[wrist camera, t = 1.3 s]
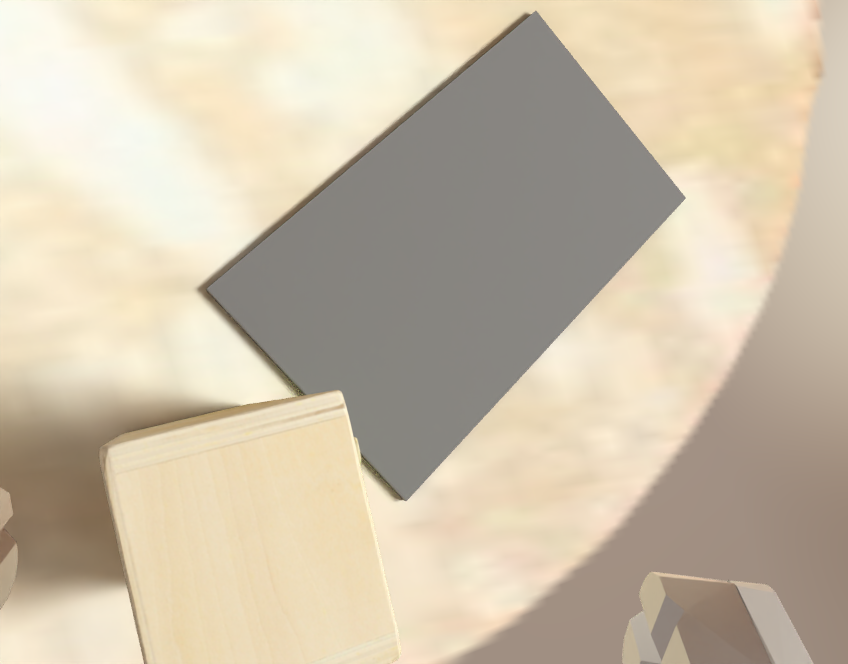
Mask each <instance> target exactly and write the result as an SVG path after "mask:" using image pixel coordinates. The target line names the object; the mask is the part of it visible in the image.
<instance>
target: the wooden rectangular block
mask: <svg viewBox="0 0 848 664" xmlns="http://www.w3.org/2000/svg"><path fill="white" fill-rule="evenodd" d="M99 461H100V466H101V471H102V476H103V481H104V486H105V490H106V495H107V499H108V504H109V508H110V513H111V517H112V522H113V526H114V531H115V535H116V540H117V544H118V549H119V553H120V557H121V562H122V566H123V571H124V575H125V580H126V584H127V589H128V593H129V598H130V602H131V607H132V611H133V616H134V620H135V625H136V629H137V634H138V638H139V642H140V647H141V651H142V656H143V660H144V664H391V663H393V662H395V661H396V660H398V659H399V658H400V656H401V646H400V640H399V634H398V629H397V625H396V621H395V616H394V612H393V608H392V603H391V599H390V595H389V590H388V586H387V581H386V577H385V572H384V568H383V564H382V559H381V555H380V550H379V546H378V541H377V537H376V532H375V528H374V524H373V519H372V515H371V511H370V506H369V502H368V498H367V493H366V489H365V484H364V480H363V476H362V471H361V467H360V463H361V454H360V449H359V444H358V440H357V438H355V437H354V436H353V432H352V428H351V423H350V419H349V415H348V411H347V408H346V404H345V400H344V397H343V394H342V392H341V391H339V390H333V391H327V392H322V393H316V394H310V395H304V396H298V397H292V398H286V399H280V400H273V401H267V402H261V403H253V404H247V405H242V406H238V407H233V408H229V409H225V410H221V411H216V412H212V413H208V414H204V415H200V416H196V417H191V418H187V419H183V420H179V421H175V422H171V423H166V424H162V425H158V426H154V427H149V428H145V429H141V430H137V431H132V432H128V433H123V434H121V435H119V436H118V437H116V438H114V439H113V440H111V441H109V442H107V443H106V444H104V445H103V446H101V447H100V449H99Z"/></svg>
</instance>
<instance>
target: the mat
mask: <svg viewBox="0 0 848 664" xmlns="http://www.w3.org/2000/svg"><path fill="white" fill-rule="evenodd" d="M684 200H685V196H684V195H683V194H682V193H681V191H680V190H679V189H678V188H677V186H676V185H675V184H674V183H673V181H672V180H671V179H670V178H669V176H668V175H667V174H666V173H665V171H664V170H663V169H662V168H661V166H660V165H659V164H658V163H657V161H656V160H655V159H654V158H653V156H652V155H651V154H650V153H649V151H648V150H647V149H646V148H645V146H644V145H643V144H642V143H641V141H640V140H639V139H638V138H637V136H636V135H635V134H634V133H633V131H632V130H631V129H630V128H629V126H628V125H627V124H626V123H625V121H624V120H623V119H622V118H621V116H620V115H619V114H618V113H617V111H616V110H615V109H614V108H613V106H612V105H611V104H610V103H609V101H608V100H607V99H606V98H605V96H604V95H603V94H602V93H601V91H600V90H599V89H598V88H597V86H596V85H595V84H594V83H593V81H592V80H591V79H590V78H589V76H588V75H587V74H586V73H585V71H584V70H583V69H582V68H581V66H580V65H579V64H578V63H577V61H576V60H575V59H574V58H573V56H572V55H571V54H570V53H569V51H568V50H567V49H566V48H565V46H564V45H563V44H562V43H561V41H560V40H559V39H558V38H557V36H556V35H555V34H554V33H553V31H552V30H551V29H550V28H549V26H548V25H547V24H546V23H545V21H544V20H543V19H542V18H541V16H540V15H539V14H538V13H537V11H535V12H534V13H533V14H531V15H530V16H529V17H528V18H527V19H525V20H524V21H523V22H522V23H521V24H519V25H518V26H517V27H516V28H515V29H514V30H512V31H511V32H510V33H509V34H508V35H506V36H505V37H504V38H503V39H502V40H501V41H499V42H498V43H497V44H496V45H495V46H493V47H492V48H491V49H490V50H489V51H487V52H486V53H485V54H484V55H483V56H482V57H480V58H479V59H478V60H477V61H476V62H474V63H473V64H472V65H471V66H470V67H469V68H467V69H466V70H465V71H464V72H463V73H461V74H460V75H459V76H458V77H457V78H455V79H454V80H453V81H452V82H451V83H450V84H448V85H447V86H446V87H445V88H444V89H442V90H441V91H440V92H439V93H438V94H437V95H435V96H434V97H433V98H432V99H431V100H429V101H428V102H427V103H426V104H425V105H424V106H422V107H421V108H420V109H419V110H418V111H416V112H415V113H414V114H413V115H412V116H410V117H409V118H408V119H407V120H406V121H405V122H403V123H402V124H401V125H400V126H399V127H397V128H396V129H395V130H394V131H393V132H392V133H390V134H389V135H388V136H387V137H386V138H384V139H383V140H382V141H381V142H380V143H378V144H377V145H376V146H375V147H374V148H373V149H371V150H370V151H369V152H368V153H367V154H365V155H364V156H363V157H362V158H361V159H360V160H358V161H357V162H356V163H355V164H354V165H352V166H351V167H350V168H349V169H348V170H347V171H345V172H344V173H343V174H342V175H341V176H339V177H338V178H337V179H336V180H335V181H333V182H332V183H331V184H330V185H329V186H328V187H326V188H325V189H324V190H323V191H322V192H320V193H319V194H318V195H317V196H316V197H315V198H313V199H312V200H311V201H310V202H309V203H307V204H306V205H305V206H304V207H303V208H301V209H300V210H299V211H298V212H297V213H296V214H294V215H293V216H292V217H291V218H290V219H288V220H287V221H286V222H285V223H284V224H283V225H281V226H280V227H279V228H278V229H277V230H275V231H274V232H273V233H272V234H271V235H270V236H268V237H267V238H266V239H265V240H264V241H262V242H261V243H260V244H259V245H258V246H256V247H255V248H254V249H253V250H252V251H251V252H249V253H248V254H247V255H246V256H245V257H243V258H242V259H241V260H240V261H239V262H238V263H236V264H235V265H234V266H233V267H232V268H230V269H229V270H228V271H227V272H226V273H224V274H223V275H222V276H221V277H220V278H219V279H217V280H216V281H215V282H214V283H213V284H211V285H210V286H209V287H208V288H207V289H206V291H207V292H208V293H209V294H210V295H211V296H212V297H213V298H214V299H215V300H216V301H217V302H218V303H219V304H220V305H221V307H222V308H223V309H224V310H225V311H226V312H227V313H228V314H229V315H230V316H231V317H232V318H233V319H234V320H235V321H236V322H237V324H238V325H239V326H240V327H241V328H242V329H243V330H244V331H245V332H246V333H247V334H248V335H249V336H250V337H251V338H252V339H253V341H254V342H255V343H256V344H257V345H258V346H259V347H260V348H261V349H262V350H263V351H264V352H265V353H266V354H267V355H268V356H269V358H270V359H271V360H272V361H273V362H274V363H275V364H276V365H277V366H278V367H279V368H280V369H281V370H282V371H283V372H284V373H285V375H286V376H287V377H288V378H289V379H290V380H291V381H292V382H293V383H294V384H295V385H296V386H297V387H298V388H299V389H300V391H301V392H302V393H303V394H304V395H310V394H316V393H322V392H327V391H333V390H339V391H341V392H342V394H343V397H344V400H345V404H346V408H347V411H348V415H349V419H350V423H351V428H352V432H353V436H354V437H355V438H357V440H358V444H359V449H360V454H361V455H362V456H363V457H364V459H365V460H366V461H367V462H368V463H369V464H370V465H371V466H372V467H373V468H374V469H375V470H376V471H377V472H378V473H379V474H380V476H381V477H382V478H383V479H384V480H385V481H386V482H387V483H388V484H389V485H390V486H391V487H392V488H393V489H394V490H395V492H396V493H397V494H398V495H399V496H400V497H401V498H402V499H403V500H405V501H407V500H408V499H409V498H410V497H411V496H412V494H413V493H414V492H415V491H416V490H417V489H418V488H419V487H420V486H421V485H422V484H423V483H424V481H425V480H426V479H427V478H428V477H429V476H430V475H431V474H432V473H433V472H434V471H435V470H436V468H437V467H438V466H439V465H440V464H441V463H442V462H443V461H444V460H445V459H446V458H447V457H448V455H449V454H450V453H451V452H452V451H453V450H454V449H455V448H456V447H457V446H458V445H459V444H460V442H461V441H462V440H463V439H464V438H465V437H466V436H467V435H468V434H469V433H470V432H471V430H472V429H473V428H474V427H475V426H476V425H477V424H478V423H479V422H480V421H481V420H482V419H483V417H484V416H485V415H486V414H487V413H488V412H489V411H490V410H491V409H492V408H493V407H494V406H495V404H496V403H497V402H498V401H499V400H500V399H501V398H502V397H503V396H504V395H505V394H506V393H507V391H508V390H509V389H510V388H511V387H512V386H513V385H514V384H515V383H516V382H517V381H518V380H519V378H520V377H521V376H522V375H523V374H524V373H525V372H526V371H527V370H528V369H529V368H530V367H531V365H532V364H533V363H534V362H535V361H536V360H537V359H538V358H539V357H540V356H541V355H542V354H543V352H544V351H545V350H546V349H547V348H548V347H549V346H550V345H551V344H552V343H553V342H554V340H555V339H556V338H557V337H558V336H559V335H560V334H561V333H562V332H563V331H564V330H565V329H566V327H567V326H568V325H569V324H570V323H571V322H572V321H573V320H574V319H575V318H576V317H577V316H578V314H579V313H580V312H581V311H582V310H583V309H584V308H585V307H586V306H587V305H588V304H589V303H590V301H591V300H592V299H593V298H594V297H595V296H596V295H597V294H598V293H599V292H600V291H601V290H602V288H603V287H604V286H605V285H606V284H607V283H608V282H609V281H610V280H611V279H612V278H613V277H614V275H615V274H616V273H617V272H618V271H619V270H620V269H621V268H622V267H623V266H624V265H625V264H626V262H627V261H628V260H629V259H630V258H631V257H632V256H633V255H634V254H635V253H636V252H637V250H638V249H639V248H640V247H641V246H642V245H643V244H644V243H645V242H646V241H647V240H648V239H649V237H650V236H651V235H652V234H653V233H654V232H655V231H656V230H657V229H658V228H659V227H660V226H661V224H662V223H663V222H664V221H665V220H666V219H667V218H668V217H669V216H670V215H671V214H672V213H673V211H674V210H675V209H676V208H677V207H678V206H679V205H680V204H681V203H682V202H683V201H684Z"/></svg>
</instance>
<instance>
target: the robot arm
mask: <svg viewBox="0 0 848 664" xmlns="http://www.w3.org/2000/svg"><path fill="white" fill-rule="evenodd" d="M12 515H13V510H12V504H11V498H10V493H9V492H7V491H6V490H4V489H2V488H0V609H1V608H2V606H3V605H4V603H5V602H6V600H7V599H8V596H9V593H10V591H11V588H12V586H13V583H14V580H15V578H16V573H17V564H18V550H17V542H16V541H15V540H14V539H13V537H12V536H11V535H10V534H9V533H8V532H7V531H6V530H5V529H4V525H5V524H6V523H7V522H8V520H9V519H10V518H11V516H12ZM639 596H640V600H641V603H642V607H643V611H642V612H640V613H639V614H637V615H636V616H635V617H633V618H632V619H630V621H629V624H628V628H627V631H626V634H625V637H624V644H623V656H622V664H813V662H812V660H811V658H810V656H809V654H808V652H807V651H806V649H805V647H804V645H803V643H802V641H801V639H800V638H799V636H798V634H797V632H796V630H795V628H794V626H793V624H792V622H791V621H790V619H789V617H788V615H787V613H786V611H785V609H784V607H783V606H782V604H781V602H780V600H779V598H778V596H777V594H776V593H775V591H774V590H773V589H772V588H770V587H769V586H768V585H766V584H757V583H748V582H739V581H730V580H728V581H723V580H715V579H707V578H699V577H691V576H683V575H674V574H665V573H658V572H650V573H649V574H648V576H647V577H646V578H645V579H644V582H643V585H642V587H641V590H640V593H639Z"/></svg>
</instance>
